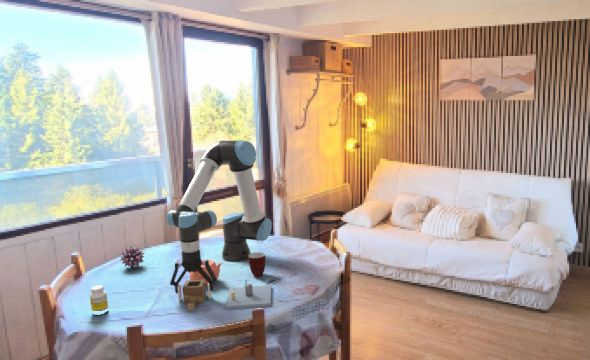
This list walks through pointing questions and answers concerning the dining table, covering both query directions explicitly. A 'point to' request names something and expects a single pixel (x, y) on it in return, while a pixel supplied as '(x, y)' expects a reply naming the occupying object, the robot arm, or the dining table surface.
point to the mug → (257, 263)
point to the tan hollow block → (194, 293)
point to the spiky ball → (132, 256)
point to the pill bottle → (98, 298)
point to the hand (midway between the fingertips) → (195, 299)
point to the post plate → (249, 296)
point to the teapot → (199, 277)
